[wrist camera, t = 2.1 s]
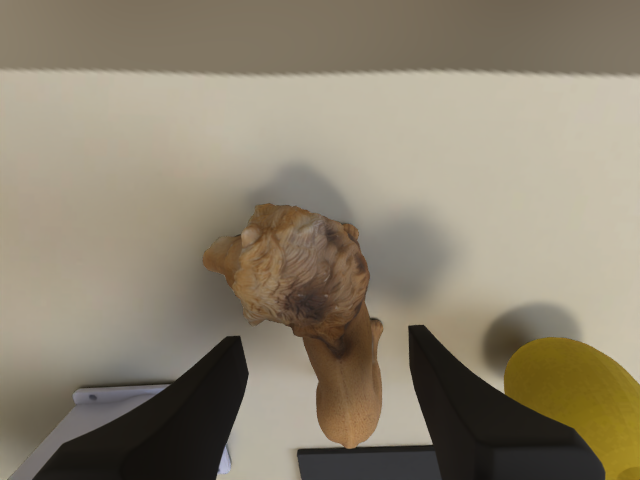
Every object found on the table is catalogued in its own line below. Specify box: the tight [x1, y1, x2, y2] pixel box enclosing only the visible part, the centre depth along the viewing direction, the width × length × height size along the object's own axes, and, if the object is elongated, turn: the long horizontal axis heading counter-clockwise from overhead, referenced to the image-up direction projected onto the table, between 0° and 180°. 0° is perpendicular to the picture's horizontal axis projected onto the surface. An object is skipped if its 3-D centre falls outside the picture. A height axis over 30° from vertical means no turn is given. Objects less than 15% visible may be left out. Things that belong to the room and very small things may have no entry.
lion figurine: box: [203, 203, 383, 449], centre depth 15 cm, size 15×5×9 cm, turn 22°
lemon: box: [504, 337, 640, 480], centre depth 16 cm, size 6×6×8 cm
